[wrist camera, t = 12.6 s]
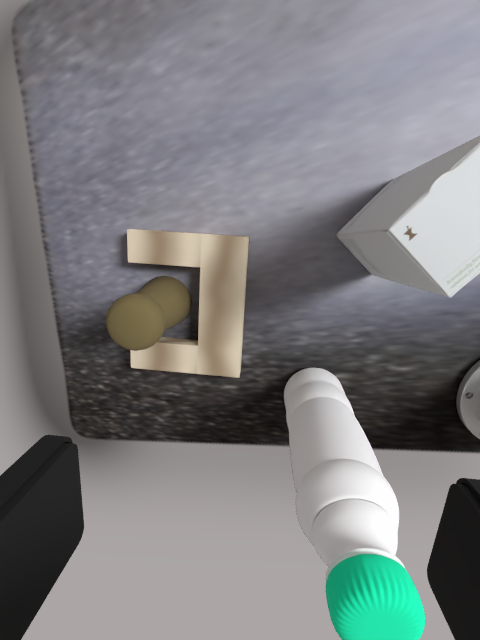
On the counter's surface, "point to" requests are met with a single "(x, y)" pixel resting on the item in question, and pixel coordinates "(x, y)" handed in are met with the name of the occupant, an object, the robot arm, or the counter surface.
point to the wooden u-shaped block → (214, 300)
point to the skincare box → (424, 225)
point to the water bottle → (348, 513)
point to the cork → (148, 313)
